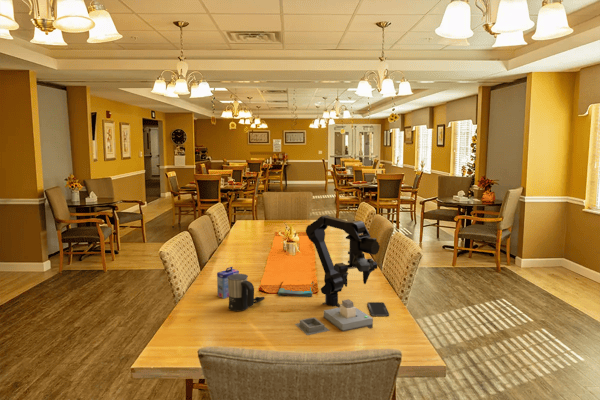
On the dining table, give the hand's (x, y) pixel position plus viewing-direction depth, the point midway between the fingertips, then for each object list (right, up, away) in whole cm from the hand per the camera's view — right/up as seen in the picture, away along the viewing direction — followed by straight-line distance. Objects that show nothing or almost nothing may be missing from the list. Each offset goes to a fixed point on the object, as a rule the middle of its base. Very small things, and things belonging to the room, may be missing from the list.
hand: (355, 285), depth 197 cm
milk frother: (-49, -12, +12) cm, 51 cm away
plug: (-4, -13, -9) cm, 16 cm away
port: (-4, -14, -9) cm, 17 cm away
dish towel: (-26, -9, +35) cm, 44 cm away
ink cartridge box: (-59, -10, +26) cm, 65 cm away
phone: (+11, -13, +6) cm, 18 cm away
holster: (-19, -15, -15) cm, 28 cm away
